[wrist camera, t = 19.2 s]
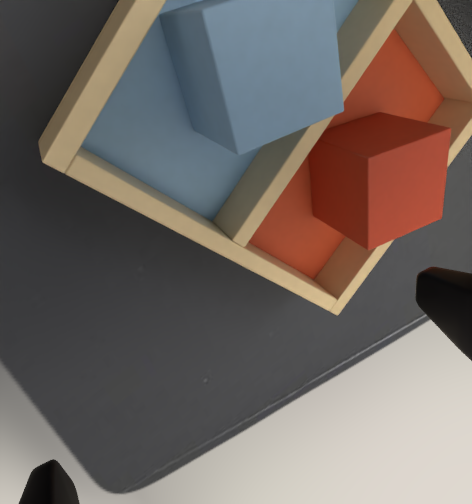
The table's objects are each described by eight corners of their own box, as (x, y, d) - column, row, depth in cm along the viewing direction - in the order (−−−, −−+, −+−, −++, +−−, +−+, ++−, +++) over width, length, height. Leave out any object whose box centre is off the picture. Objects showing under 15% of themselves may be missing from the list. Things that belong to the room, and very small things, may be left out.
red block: (312, 216, 23) (368, 251, 19) (306, 135, 20) (368, 157, 17) (378, 190, 24) (442, 218, 20) (379, 111, 22) (452, 127, 18)
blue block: (193, 131, 18) (238, 156, 14) (157, 14, 15) (201, 9, 12) (282, 96, 19) (345, 111, 15) (262, -19, 17) (331, -33, 13)
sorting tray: (307, 288, 26) (337, 316, 24) (37, 142, 16) (41, 162, 14) (448, 93, 24) (497, 100, 22) (237, -209, 14) (284, -259, 12)
